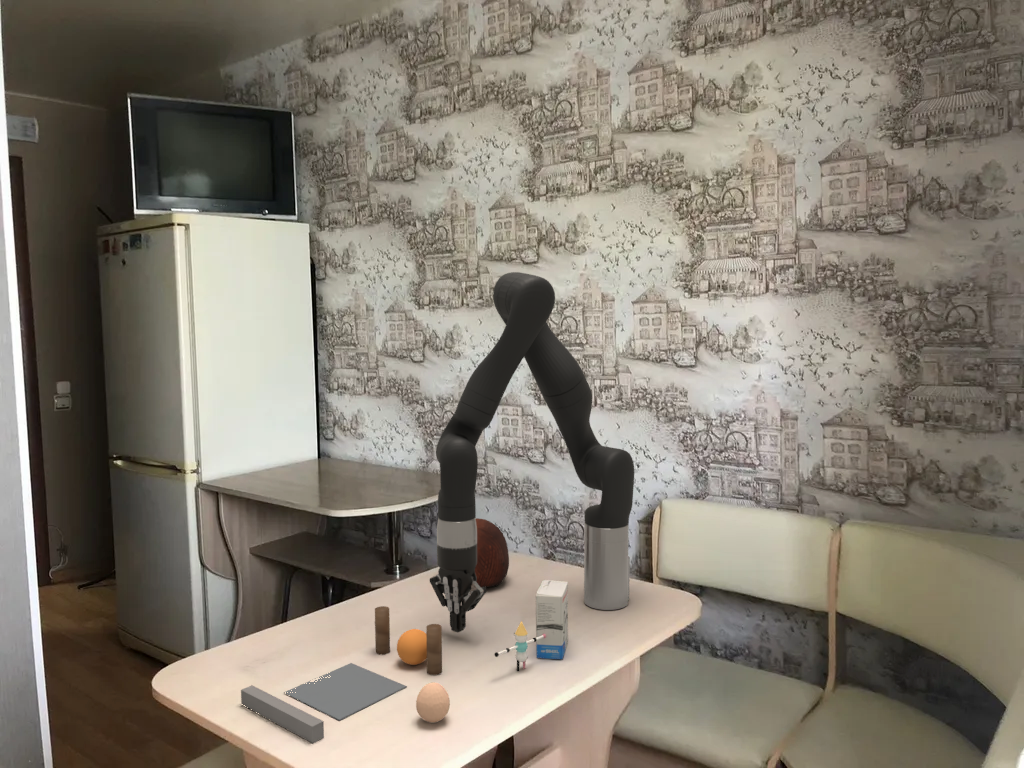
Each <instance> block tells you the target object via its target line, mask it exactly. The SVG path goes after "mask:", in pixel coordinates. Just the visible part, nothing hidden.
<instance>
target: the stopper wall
mask: <svg viewBox="0 0 1024 768" xmlns="http://www.w3.org/2000/svg"><path fill="white" fill-rule="evenodd" d="M240 699H241V700H240V701H241V703H240V704H243V705H245V706H246V707H248V708H250V709H252V710H253V711H252V710H251V711H252V712H254V711H255V712H257V713H259V714H260V716H261V715H262V716H261V717H263V716H264V717H263V718H265V717H266V718H265V719H267V720H268V719H270V720H271V721H270V720H269V721H270V722H272V723H274V722H275V723H274V724H276V723H277V724H276V725H278V726H280V727H281V728H283V727H284V728H283V729H285V728H286V729H285V730H287V729H288V730H287V731H289V732H291V733H293V734H295V735H297V736H299V737H301V738H302V739H304V740H306V741H308V742H309V743H311V744H314V743H316V742H318V741H320V740H321V739H325V727H324V722H325V721H323V720H322V719H320V718H318V717H316V716H314V715H312V714H310V713H308V712H306V711H304V710H302V709H301V708H298V707H296V706H294V705H292V704H291V703H288V702H287V701H284V700H282V699H281V698H278V697H277V696H274V695H273V694H271V693H268V692H267V691H265V690H263V689H260V688H259V687H256V686H255V685H252V684H251V685H249V686H247V687H245V688H242V689H241V690H240ZM246 707H245V708H246ZM248 708H247V709H248ZM250 709H249V710H250ZM255 712H254V713H255ZM257 713H256V714H257ZM259 714H258V715H259Z"/></svg>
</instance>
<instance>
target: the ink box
mask: <svg viewBox="0 0 1024 768" xmlns="http://www.w3.org/2000/svg"><path fill="white" fill-rule="evenodd" d="M568 589H569V582H568V581H563V580H553V579H551V580H550V579H544V580H542V581H541V584H540V586H539V587H538V589H537V591H536V592H535V593H536V595H535V624H536V625H535V632H536V634H535V635H536V637H535V638H537V637H539V636H542V635H543V634H545V635H546V638H542V639H539V640H537V641H536V642H535V643H536V645H535V646H536V658H537V659H551V660H563V659H564V656H565V652H566V648H567V646H568V643H569V638H568V637H569V631H568V630H569V629H568V628H569V623H568V621H569V617H568V615H569V613H568V610H569V608H568V607H569V606H568V605H569V603H568V602H569V601H568V599H569V598H568V597H569V595H568V594H569V590H568Z"/></svg>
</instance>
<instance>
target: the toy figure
mask: <svg viewBox="0 0 1024 768" xmlns="http://www.w3.org/2000/svg"><path fill="white" fill-rule="evenodd" d="M528 634H529V633H528V630H527V629H526V626H525V624H524V623H523V621H522V620H521V621H520V623H519V624H518V626H517V628H516V630H515V632H514V633H513V636H514V639H515V641H516V642H515V644H514V646H511V647H506V649H504V650H500V651H499V652H496V651H495V652H494V654H493V656H494V657H495V658H498V657H499V656H501V655H503V654H506V653H507V654H508V653H509V652H511V651H513V650H516V651H515V654H514V657H515V660H516V672H520V665H521V664H520V663H522V669H523V670H525V669H526V660H527V659H528V656H529V655H528V651H527V650H528V644H532V643H536V641H537V640H539V639H542V638H546V635H545V634H543V635H542V636H539V637H537V638H536V637H533V638H532V639H529V640H528V638H529V636H528Z"/></svg>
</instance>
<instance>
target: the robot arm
mask: <svg viewBox="0 0 1024 768" xmlns="http://www.w3.org/2000/svg"><path fill="white" fill-rule="evenodd" d="M492 293H493V294H492V295H493V296H492V298H493V304H494V306H495V309H496V312H497V313H498V315H499V317H500V319H501V320H502V322H503V323H504V324H505V327H504V329H503V331H502V333H501V335H500V337H499V338H498V340H497V342H496V344H495V345H494V346H493V348H492V349H490V352H489V353H488V354H487V355H486V356H485V357H484V358H483V360H482V361H481V362H480V363H479V365H477V366H476V368H475V369H474V370H473V372H472V374H471V376H470V377H469V378H468V380H467V382H466V385H465V387H464V389H463V390H462V393H461V396H460V399H459V401H458V403H457V405H456V408H455V411H454V413H453V415H452V416H451V417H450V419H449V421H448V423H447V424H446V426H445V428H444V429H443V432H442V433H441V435H440V437H439V440H438V441H437V444H436V449H435V457H436V459H437V462H438V464H439V473H440V489H439V490H438V496H437V524H436V564H437V567H438V568H439V569H438V574H436V575H434V576H432V577H430V578H429V583H430V585H431V587H432V588H433V590H434V593H435V595H436V598H437V599H438V601H439V603H440V605H441V606H442V607H446V608H447V610H448V612H449V626H450V630H451V631H453V632H454V633H460V632H462V631H464V630H465V628H466V627H467V621H466V620H467V614H466V613H468V612H469V611H472V610H474V609H475V607H477V606H478V604H479V603H480V601H481V600H482V599H483V597H484V595H485V594H486V593H487V587H480V586H479V585H478V583H477V582H476V581H477V577H476V574H475V567H476V565H477V525H476V510H477V509H476V485H477V479H478V466H479V463H478V462H479V461H478V459H479V458H478V452H477V448H476V445H477V443H478V441H479V439H480V437H481V435H482V433H483V432H484V430H486V429H487V428H489V426H490V424H491V423H492V421H493V419H494V416H495V415H496V413H497V410H498V408H499V405H500V403H501V401H502V399H503V397H504V394H505V392H506V390H507V387H508V385H509V384H510V382H511V380H512V378H513V376H514V374H515V373H516V371H517V369H518V368H519V365H520V364H521V363H522V361H523V359H524V360H525V361H526V364H527V366H528V368H529V371H530V372H531V374H532V377H533V378H534V380H535V383H536V384H537V387H538V389H539V392H540V394H541V395H542V398H543V400H544V402H545V403H546V406H547V409H549V411H550V413H551V415H552V417H553V419H554V421H555V423H556V425H557V428H558V430H559V432H560V433H561V436H562V438H563V440H564V443H565V446H566V448H567V451H568V454H569V456H570V460H571V463H572V465H573V467H574V471H575V473H576V475H577V477H578V479H579V481H580V482H581V483H582V484H583V485H584V486H586V487H587V488H589V489H591V490H597V491H600V492H601V499H600V503H599V504H595V505H590V506H588V507H587V508H586V509H585V510H584V525H583V526H584V530H583V531H584V533H583V535H584V540H583V541H584V547H583V548H584V550H583V551H584V552H583V553H584V557H583V559H584V561H583V567H584V568H583V569H584V570H583V572H584V573H583V576H584V577H583V579H584V580H583V603H584V604H585V605H586V606H588V607H589V608H592V609H596V610H603V611H615V610H619V609H623V608H625V607H627V605H629V604H628V601H629V600H630V573H631V572H630V570H631V569H630V567H631V566H630V564H631V563H630V561H631V559H630V556H629V539H630V538H629V533H630V532H629V527H630V526H629V523H630V522H629V521H630V515H631V512H632V508H633V504H634V503H633V501H634V500H633V499H634V498H633V497H634V484H635V466H634V460H633V458H632V455H631V454H630V453H629V452H628V451H626V450H625V449H622V448H616V447H611V446H610V447H609V446H605V445H602V444H600V442H599V441H598V439H597V437H596V435H595V433H594V431H593V429H592V427H591V422H590V420H591V412H592V409H593V393H592V389H591V386H590V384H589V382H588V380H587V378H586V376H585V373H584V371H583V369H582V367H581V366H580V364H579V362H578V361H577V360H576V358H575V357H574V356H573V355H572V353H571V352H570V351H569V350H568V348H567V347H566V346H565V345H564V344H563V343H562V342H561V340H560V339H559V338H558V337H557V336H556V335H555V333H554V332H553V330H552V329H551V327H550V326H549V324H548V322H547V321H548V319H549V318H550V316H551V314H552V312H553V310H554V307H555V303H556V293H555V289H554V287H553V285H552V284H551V282H549V281H548V279H546V278H544V277H541V276H538V275H534V274H531V273H525V272H519V271H513V272H508V273H504V274H503V275H501V276H500V277H499V278H498V279H497V281H496V283H495V284H494V288H493V292H492Z"/></svg>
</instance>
